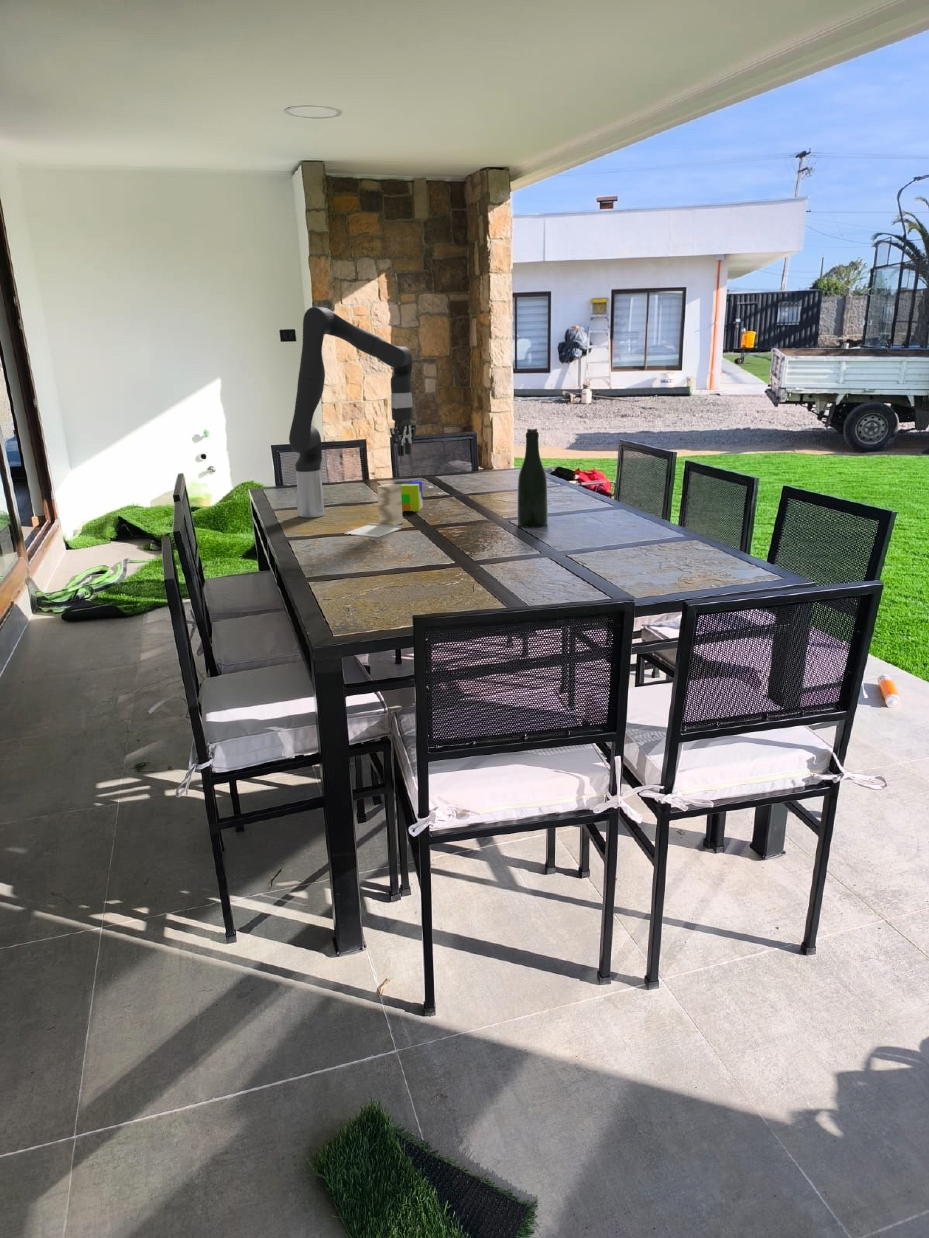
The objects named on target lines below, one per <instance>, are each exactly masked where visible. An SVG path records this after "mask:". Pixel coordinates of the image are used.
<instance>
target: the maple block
mask: <svg viewBox="0 0 929 1238" xmlns="http://www.w3.org/2000/svg"><path fill="white" fill-rule="evenodd" d="M376 489H377V506H378V507H377V508H378V522H379V523H378V524H386V525H396V526H402V525H404V521H403V519H404V518H403V512H402V498H401V485H396V484H394V483H393V484H392V483H386V484H382V485H378V486H376Z"/></svg>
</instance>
